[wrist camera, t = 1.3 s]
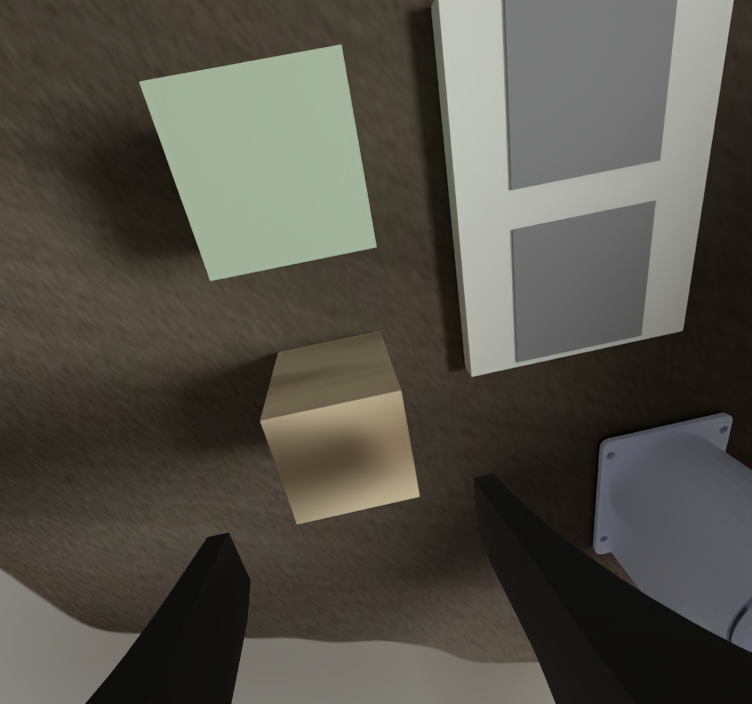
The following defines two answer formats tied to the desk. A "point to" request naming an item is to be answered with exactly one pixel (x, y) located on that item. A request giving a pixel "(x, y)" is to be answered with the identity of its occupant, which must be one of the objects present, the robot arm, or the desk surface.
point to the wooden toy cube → (339, 428)
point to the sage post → (265, 160)
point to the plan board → (575, 167)
